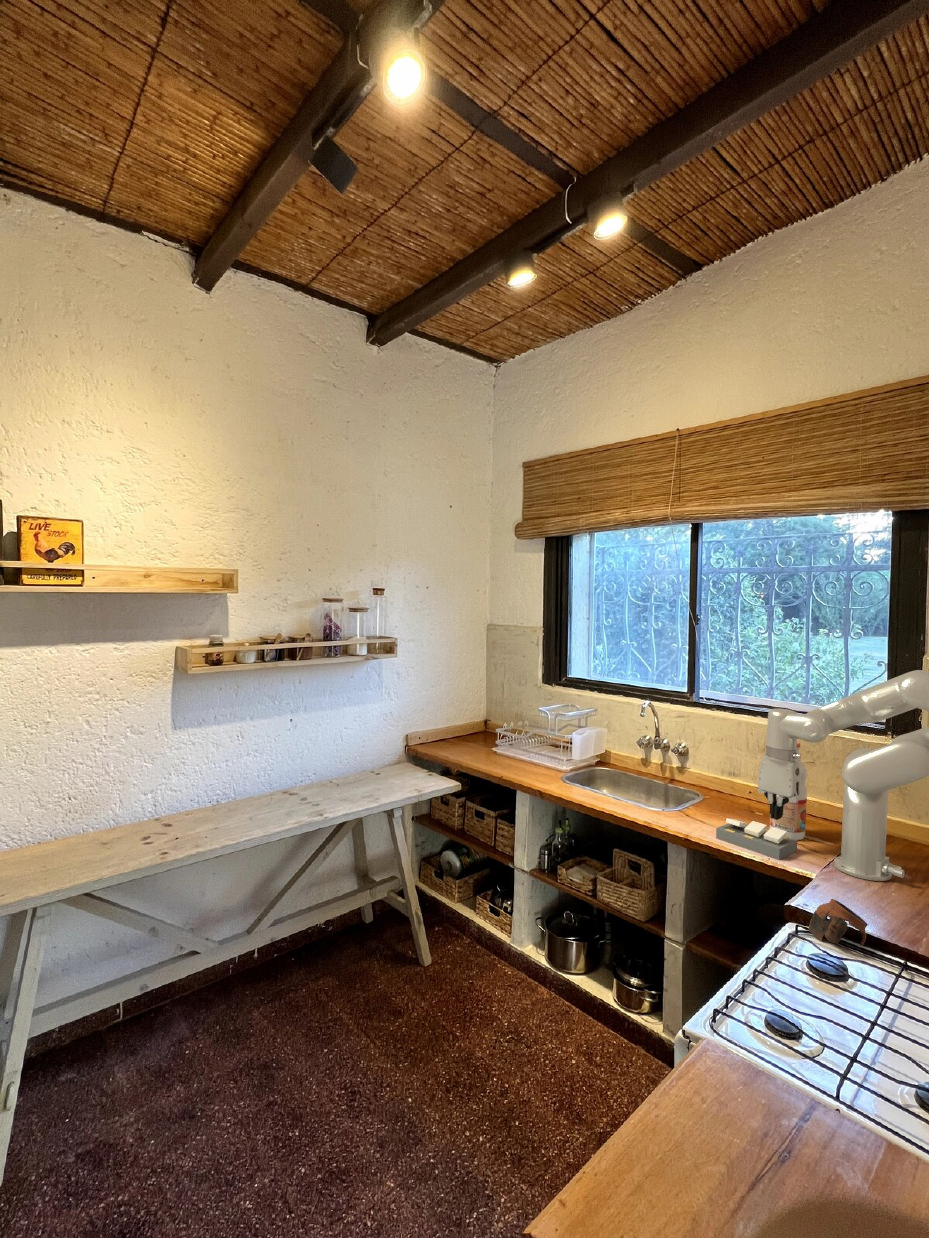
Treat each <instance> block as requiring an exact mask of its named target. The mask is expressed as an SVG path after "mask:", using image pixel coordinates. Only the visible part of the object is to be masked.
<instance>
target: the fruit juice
mask: <svg viewBox="0 0 929 1238" xmlns="http://www.w3.org/2000/svg"><path fill="white" fill-rule="evenodd" d="M800 749H801V743H800V742H799V741H797V747H796V750H797V753H798V754H800ZM796 760H797V761H799V766H800V774H801V792H800V795H798V802H796V803H789V802H788V803H787V804H785V805H784V808H783V816H782V817H781V819H778V820H775V819H772V818H770V817H769V829H770V828H771V827H774V828H778V829H781V830H784V831H787V836H786V837H787V838H790V839H794V840H797V841H800V840H804V839H805V837H806V825H807V824H806V822H807V820H806V819H807V801H808V800H807V798H808V791H807V786H806V780H807V777H808V770H807V768H806V766H805V765H804V763H803V762H802V760H801V758H800V759H799V758H797V759H796ZM778 797H779V795H777V801H778ZM770 815H771V814H770V813H769V816H770Z"/></svg>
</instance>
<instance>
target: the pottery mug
mask: <svg viewBox="0 0 929 1238" xmlns="http://www.w3.org/2000/svg"><path fill="white" fill-rule="evenodd" d="M828 918H829V920H827V919H828ZM848 925H849V926H850V927H853V928H854V929H855V930H858V931H859V932H860V934H861V936H862V938H861V941H860V945H861V946H864V944H865V943H866V939H867V932H866V927H868V925H869V924H868V923H867V922H866V921H865V920H864V919H863V918H862V917H861V916H860V915H859V914H857V913H856V912H854V911H853V910H852V909H850V908H849V907H847V906H846V905H844V904H843V903H841V901H838V900H836V899H834V898H831V899H830V901H829V902H826V903H822V904H820V905H818V907H817V908H816V910H814V912H813V914H812V917H811V919H810V922H809V926H808V928H807V929H808V930H809V932H810V934H811V935H812V936H813V937H814V938H815V939H816V940H818V941H819V942H823V941H824V937H825V938H826V940H827V941H828V942H829V943H831V944H839V943H840V941H841V939H842V938H843V936H844V935H845V934H846V932H848Z"/></svg>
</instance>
